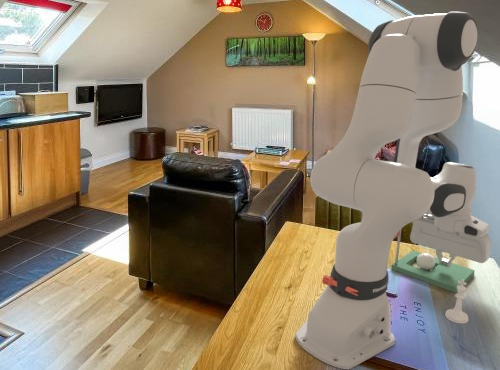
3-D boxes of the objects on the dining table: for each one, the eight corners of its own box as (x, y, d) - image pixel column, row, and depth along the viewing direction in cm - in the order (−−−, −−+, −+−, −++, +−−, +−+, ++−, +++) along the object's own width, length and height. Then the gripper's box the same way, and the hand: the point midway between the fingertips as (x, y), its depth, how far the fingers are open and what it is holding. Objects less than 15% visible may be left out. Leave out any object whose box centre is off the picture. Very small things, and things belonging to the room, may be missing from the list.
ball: (411, 258, 113) (417, 273, 113) (428, 257, 109) (433, 273, 109) (418, 250, 116) (423, 265, 116) (434, 249, 112) (440, 264, 113)
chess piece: (447, 308, 94) (453, 272, 91) (470, 316, 91) (477, 278, 88) (442, 318, 90) (448, 280, 88) (466, 326, 88) (472, 287, 85)
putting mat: (451, 297, 99) (459, 249, 95) (386, 272, 112) (391, 229, 108) (473, 274, 110) (481, 231, 106) (412, 254, 123) (417, 215, 119)
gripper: (409, 213, 110) (404, 257, 114) (489, 233, 96) (480, 282, 100) (418, 208, 114) (413, 250, 118) (496, 227, 100) (487, 274, 104)
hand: (444, 265), depth 109 cm, fingers closed
